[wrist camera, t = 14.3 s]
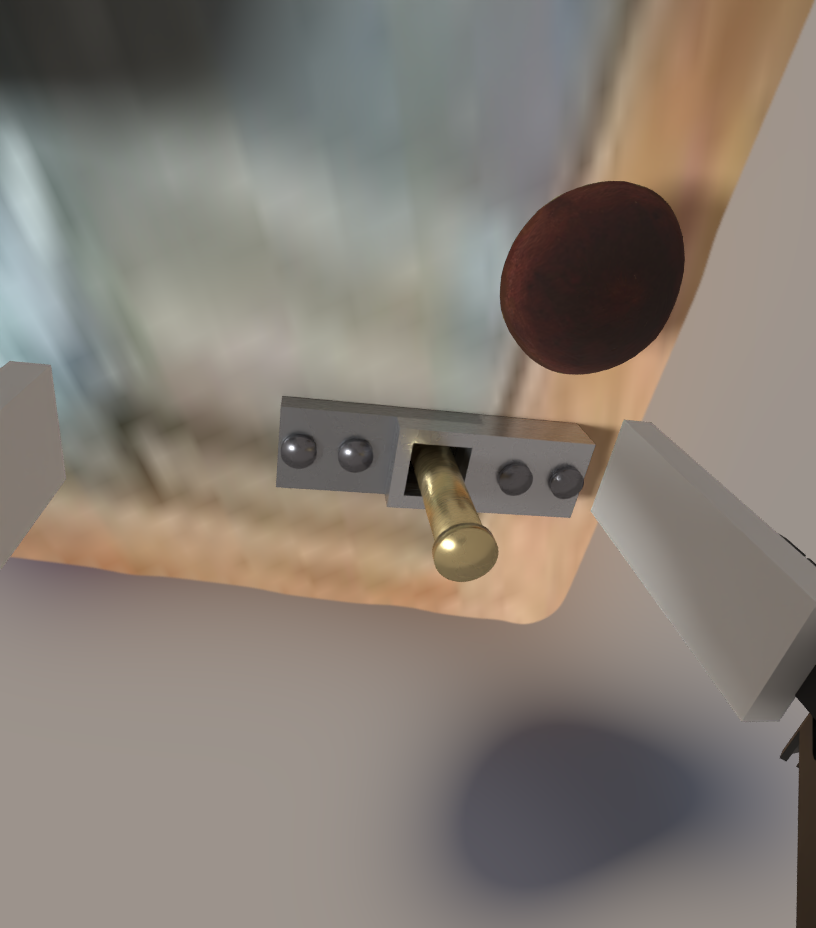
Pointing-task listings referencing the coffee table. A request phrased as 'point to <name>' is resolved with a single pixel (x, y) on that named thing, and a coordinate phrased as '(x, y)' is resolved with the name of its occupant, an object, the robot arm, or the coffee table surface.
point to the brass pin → (452, 516)
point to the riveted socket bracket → (396, 429)
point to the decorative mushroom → (593, 277)
